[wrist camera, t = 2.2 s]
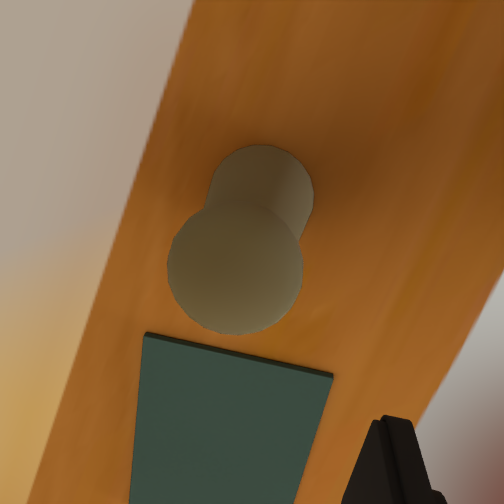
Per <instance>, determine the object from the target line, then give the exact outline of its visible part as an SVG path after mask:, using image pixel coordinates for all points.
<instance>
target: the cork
mask: <svg viewBox="0 0 504 504" xmlns="http://www.w3.org/2000/svg"><path fill="white" fill-rule="evenodd" d="M313 200H314V191H313V187H312V183H311V179H310V176H309V175H308V173H307V171H306V170H305V168H304V167H303V165H302V164H301V162H299V161H298V160H297V159H296V158H295V157H293V156H292V155H291V154H290V153H288V152H287V151H284V150H281V149H279V148H276V147H274V146H268V145H252V146H248V147H245V148H241V149H238V150H236V151H235V152H233V153H232V154H230V155H229V156H227V157H226V158H225V159H224V160H223V161H222V162H221V164H220V165H219V166H218V168H217V169H216V170H215V172H214V175H213V178H212V181H211V184H210V187H209V191H208V195H207V198H206V202H205V205H204V209H202V210H201V211H199V212H197V213H196V214H194V215H193V216H191V217H190V218H189V219H188V220H187V221H186V223H185V224H184V225H183V227H182V228H181V229H180V231H179V232H178V233H177V235H176V236H175V237H174V239H173V242H172V245H171V249H170V252H169V255H168V261H167V269H168V283H169V285H170V288H171V290H172V292H173V295H174V297H175V300H176V301H177V303H178V304H179V305H180V306H181V308H182V309H183V310H184V311H185V313H186V314H187V315H188V316H189V317H190V318H191V319H193V320H194V321H195V322H197V323H198V324H200V325H201V326H203V327H204V328H207V329H209V330H212V331H215V332H218V333H220V334H229V335H244V334H249V333H255V332H259V331H262V330H264V329H265V328H267V327H269V326H271V325H273V324H275V323H277V322H278V321H279V320H280V319H281V318H282V317H283V316H284V315H285V314H286V313H287V312H288V311H289V310H290V309H291V307H292V306H293V304H294V302H295V300H296V298H297V296H298V293H299V291H300V289H301V287H302V277H303V257H302V254H301V250H300V246H299V243H298V242H299V239H300V237H301V235H302V232H303V230H304V228H305V226H306V223H307V221H308V219H309V216H310V214H311V212H312V210H313Z"/></svg>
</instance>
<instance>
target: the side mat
mask: <svg viewBox="0 0 504 504" xmlns="http://www.w3.org/2000/svg"><path fill="white" fill-rule="evenodd" d="M332 382H333V374H331V373H326V372H322V371H317V370H313V369H308V368H304V367H300V366H295V365H291V364H286V363H282V362H277V361H273V360H268V359H264V358H259V357H255V356H250V355H246V354H241V353H237V352H232V351H228V350H223V349H219V348H215V347H210V346H206V345H201V344H197V343H192V342H188V341H183V340H179V339H174V338H170V337H165V336H161V335H156V334H152V333H147V332H146V333H145V334H144V336H143V347H142V359H141V370H140V382H139V393H138V405H137V416H136V428H135V439H134V451H133V462H132V474H131V485H130V497H129V504H293V502H294V499H295V496H296V493H297V490H298V487H299V484H300V481H301V478H302V475H303V472H304V468H305V465H306V462H307V459H308V456H309V453H310V450H311V447H312V444H313V441H314V438H315V434H316V431H317V428H318V425H319V422H320V419H321V416H322V413H323V410H324V407H325V403H326V400H327V397H328V394H329V391H330V388H331V385H332Z"/></svg>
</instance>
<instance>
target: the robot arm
mask: <svg viewBox="0 0 504 504" xmlns="http://www.w3.org/2000/svg"><path fill="white" fill-rule="evenodd" d="M341 504H447V502H446V500H445V497H444V496H443V495H442V493H441V492H439V491H436V490H432V489H431V485H430V482H429V479H428V475H427V472H426V468H425V465H424V461H423V458H422V455H421V451H420V448H419V444H418V441H417V438H416V434H415V431H414V427H413V424H412V422H411V421H410V420H407V419H402V418H398V417H393V416H388V415H383V416H382V417H381V419H380V421H379V420H373V421H372V423H371V426H370V428H369V431H368V433H367V436H366V439H365V441H364V444H363V446H362V449H361V451H360V454H359V457H358V459H357V462H356V464H355V467H354V469H353V472H352V475H351V477H350V480H349V482H348V485H347V488H346V490H345V493H344V495H343V498H342V502H341Z"/></svg>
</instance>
